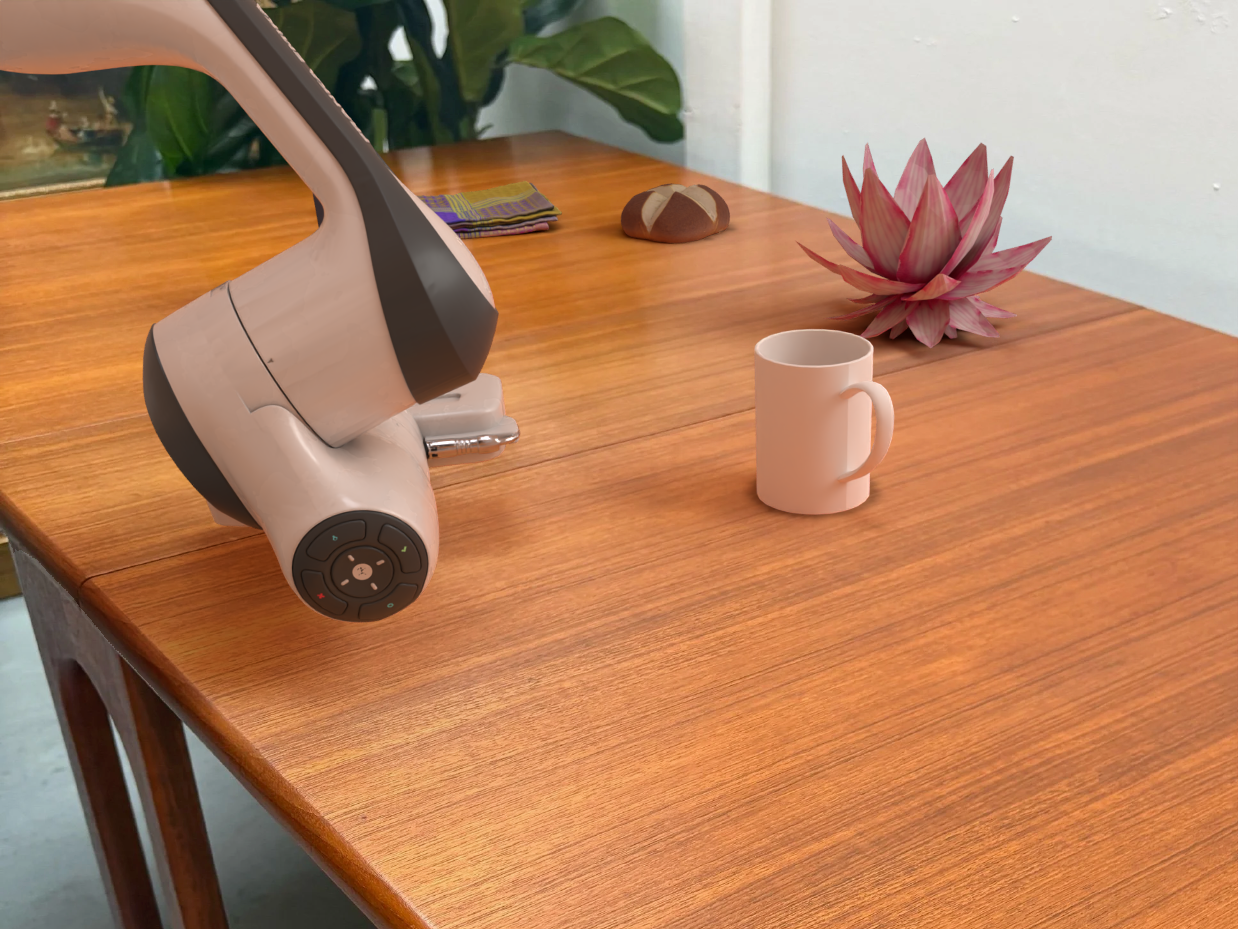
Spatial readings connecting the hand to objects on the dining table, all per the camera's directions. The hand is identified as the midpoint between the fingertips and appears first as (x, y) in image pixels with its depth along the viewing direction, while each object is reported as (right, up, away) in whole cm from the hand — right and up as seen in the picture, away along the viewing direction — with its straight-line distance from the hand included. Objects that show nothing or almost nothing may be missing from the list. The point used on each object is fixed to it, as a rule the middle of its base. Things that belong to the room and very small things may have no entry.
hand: (344, 387), depth 102 cm
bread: (+17, +34, +64) cm, 74 cm away
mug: (+33, -8, +2) cm, 34 cm away
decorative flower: (+42, +14, +34) cm, 56 cm away
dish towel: (-9, +36, +67) cm, 77 cm away
